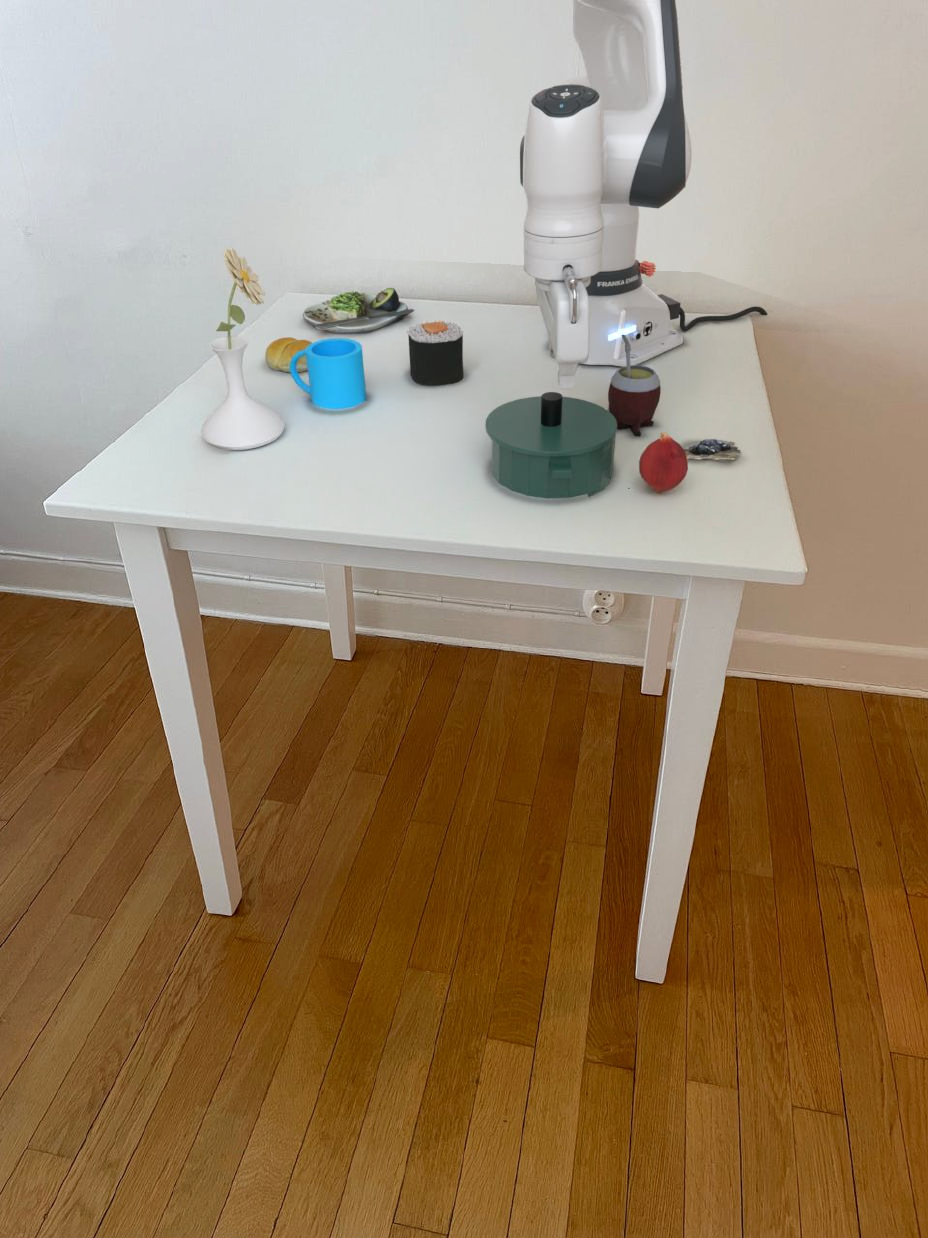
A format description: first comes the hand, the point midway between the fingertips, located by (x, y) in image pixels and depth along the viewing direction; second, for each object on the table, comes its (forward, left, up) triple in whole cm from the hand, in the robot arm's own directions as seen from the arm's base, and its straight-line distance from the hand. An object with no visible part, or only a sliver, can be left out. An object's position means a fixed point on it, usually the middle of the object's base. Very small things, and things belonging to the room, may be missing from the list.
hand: (561, 370), depth 115 cm
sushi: (-4, -36, -14) cm, 39 cm away
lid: (+1, 0, -7) cm, 7 cm away
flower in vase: (+29, -33, -14) cm, 46 cm away
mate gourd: (-16, -4, -14) cm, 22 cm away
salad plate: (-7, -67, -14) cm, 69 cm away
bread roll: (+12, -54, -14) cm, 57 cm away
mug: (+14, -38, -14) cm, 43 cm away
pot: (+1, 0, -14) cm, 14 cm away
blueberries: (-19, +8, -14) cm, 25 cm away
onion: (-7, +12, -14) cm, 19 cm away
